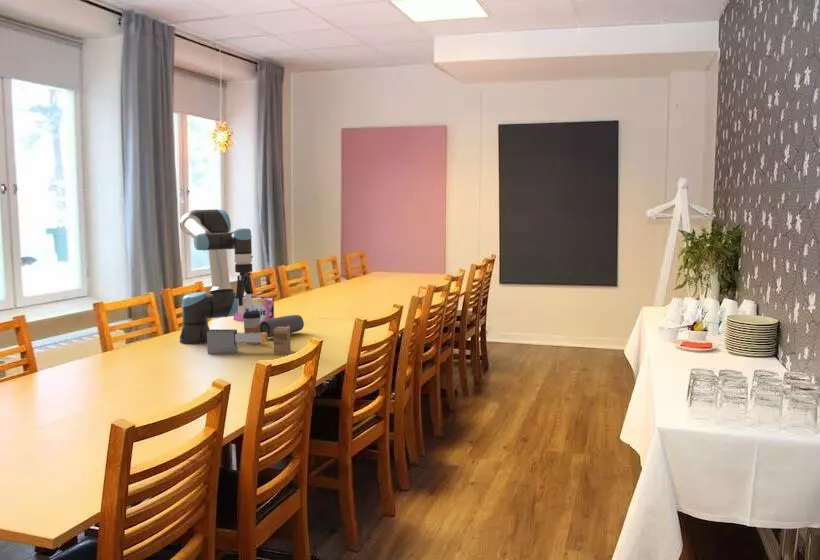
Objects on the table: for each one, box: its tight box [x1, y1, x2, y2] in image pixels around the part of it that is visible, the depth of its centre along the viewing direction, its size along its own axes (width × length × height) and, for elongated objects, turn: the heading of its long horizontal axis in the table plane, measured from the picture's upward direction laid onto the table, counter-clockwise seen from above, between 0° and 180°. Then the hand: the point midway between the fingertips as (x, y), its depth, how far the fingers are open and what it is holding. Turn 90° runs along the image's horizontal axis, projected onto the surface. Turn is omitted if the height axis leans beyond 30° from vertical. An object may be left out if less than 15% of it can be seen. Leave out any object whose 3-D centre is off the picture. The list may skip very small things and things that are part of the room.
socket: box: [273, 327, 292, 355], centre depth 325 cm, size 8×6×11 cm
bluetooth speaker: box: [260, 314, 305, 339], centre depth 362 cm, size 23×9×10 cm, turn 143°
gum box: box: [233, 295, 275, 323], centre depth 407 cm, size 24×8×14 cm, turn 67°
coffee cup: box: [243, 311, 261, 345], centre depth 345 cm, size 8×8×15 cm
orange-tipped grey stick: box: [234, 332, 268, 343], centre depth 325 cm, size 4×25×4 cm, turn 90°
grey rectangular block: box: [206, 328, 239, 355], centre depth 326 cm, size 6×12×10 cm, turn 89°
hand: (245, 310), depth 324 cm, fingers open, 13 cm apart
